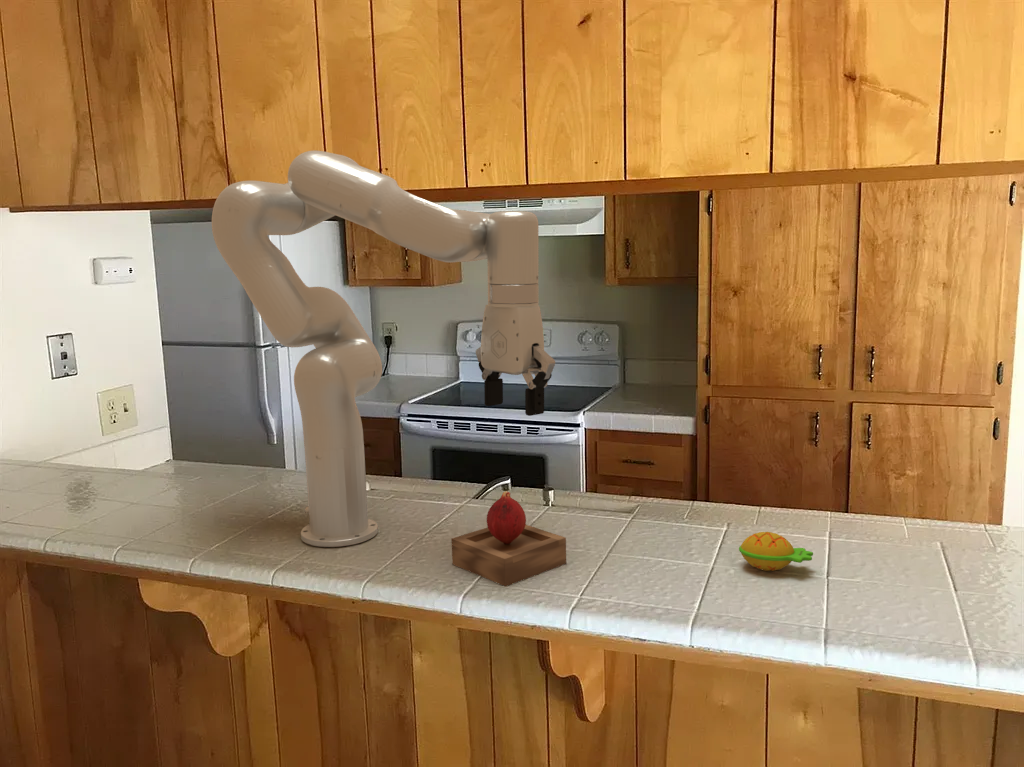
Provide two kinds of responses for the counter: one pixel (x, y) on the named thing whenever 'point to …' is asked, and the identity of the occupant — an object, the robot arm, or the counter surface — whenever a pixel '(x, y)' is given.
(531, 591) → the counter surface
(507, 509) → the onion
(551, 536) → the base
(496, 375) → the robot arm
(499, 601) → the counter surface
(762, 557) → the toy pineapple
